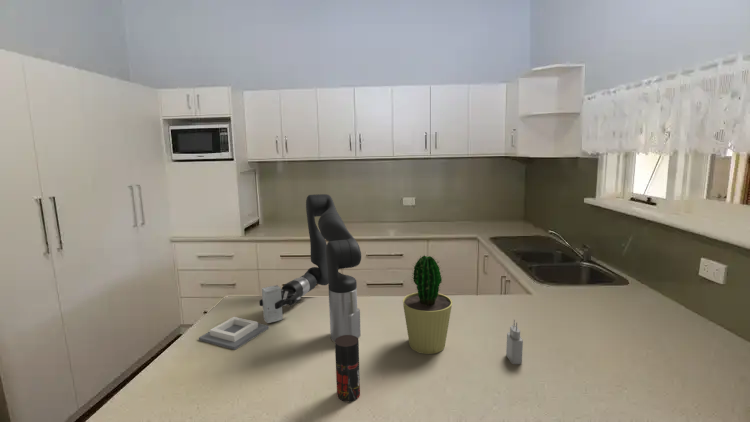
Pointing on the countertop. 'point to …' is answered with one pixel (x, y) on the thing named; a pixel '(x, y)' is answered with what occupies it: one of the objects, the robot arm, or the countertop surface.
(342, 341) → the deodorant
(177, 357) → the countertop surface
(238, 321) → the socket plate
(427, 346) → the potted cactus
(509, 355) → the power adapter
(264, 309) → the skincare box
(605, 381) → the countertop surface
